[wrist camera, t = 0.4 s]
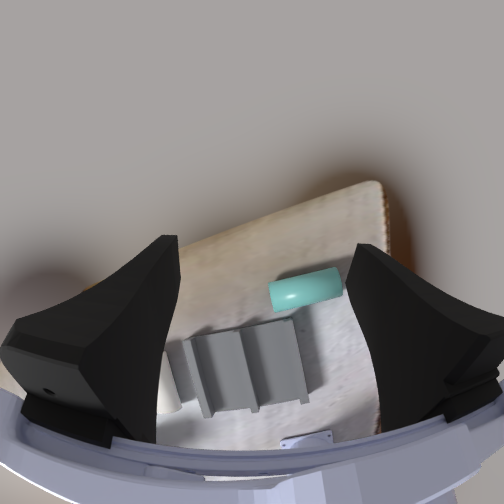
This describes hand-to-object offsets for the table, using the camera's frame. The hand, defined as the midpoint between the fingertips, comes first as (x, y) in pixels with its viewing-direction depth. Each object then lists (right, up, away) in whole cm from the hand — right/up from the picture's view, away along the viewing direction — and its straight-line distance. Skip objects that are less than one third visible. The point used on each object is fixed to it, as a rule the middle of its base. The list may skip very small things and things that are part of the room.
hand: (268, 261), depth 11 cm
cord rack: (-1, -16, +26) cm, 31 cm away
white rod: (-14, -19, +27) cm, 36 cm away
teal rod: (+6, -5, +27) cm, 28 cm away
